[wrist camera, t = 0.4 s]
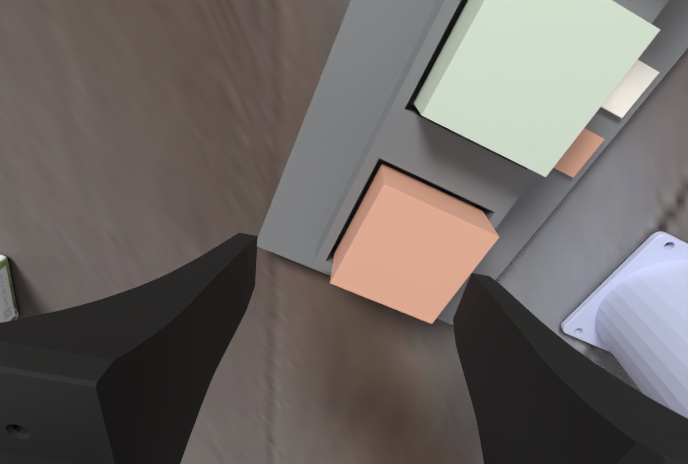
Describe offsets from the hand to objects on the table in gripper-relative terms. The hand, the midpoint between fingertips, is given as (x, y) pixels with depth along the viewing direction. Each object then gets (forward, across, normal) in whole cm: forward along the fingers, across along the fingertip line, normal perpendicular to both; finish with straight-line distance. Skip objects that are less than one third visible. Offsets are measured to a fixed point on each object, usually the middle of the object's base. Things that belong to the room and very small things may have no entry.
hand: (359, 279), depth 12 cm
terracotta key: (+6, -2, +1) cm, 6 cm away
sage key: (+6, -4, -7) cm, 10 cm away
